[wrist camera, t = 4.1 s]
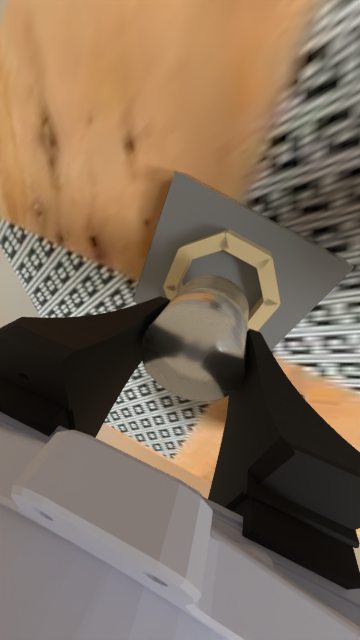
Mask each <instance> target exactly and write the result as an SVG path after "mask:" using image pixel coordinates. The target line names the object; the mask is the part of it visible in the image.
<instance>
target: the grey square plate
mask: <svg viewBox="0 0 360 640" xmlns="http://www.w3.org/2000/svg"><path fill="white" fill-rule="evenodd" d="M353 268H354V266H352V265H351V264H350V263H348V262H347V261H346V260H344V259H343V258H342V257H340V256H338V255H336V254H334V253H332V252H330V251H329V250H327V249H325V248H323V247H321V246H319V245H317V244H316V243H314V242H312V241H310V240H308V239H306V238H304V237H303V236H301V235H299V234H297V233H295V232H293V231H291V230H290V229H288V228H286V227H284V226H282V225H280V224H278V223H277V222H275V221H273V220H271V219H269V218H267V217H265V216H264V215H262V214H260V213H258V212H256V211H254V210H252V209H251V208H249V207H247V206H245V205H243V204H241V203H239V202H238V201H236V200H234V199H232V198H230V197H228V196H226V195H225V194H223V193H221V192H219V191H217V190H215V189H213V188H212V187H210V186H208V185H206V184H204V183H202V182H200V181H199V180H197V179H195V178H193V177H191V176H189V175H187V174H185V173H181V172H178V171H175V173H174V176H173V179H172V182H171V185H170V188H169V191H168V194H167V198H166V201H165V204H164V207H163V210H162V213H161V216H160V219H159V222H158V225H157V228H156V231H155V234H154V237H153V240H152V243H151V247H150V250H149V253H148V256H147V259H146V262H145V265H144V268H143V271H142V274H141V277H140V280H139V283H138V286H137V289H136V292H135V296H134V299H133V301H134V302H135V303H137V304H140V303H142V302H145V301H148V300H151V299H153V298H156V297H159V296H162V297H164V298H167V299H170V302H171V300H172V299H173V298H174V297H175V296H176V295H177V293H178V292H179V291H180V290H181V289H182V288H183V286H184V285H185V284H186V283H188V282H189V281H190V280H192V279H194V278H196V277H199V276H203V275H217V276H221V277H224V278H227V279H229V280H231V281H232V282H234V283H235V284H236V285H237V286H238V287H239V288H240V289H241V290H242V291H243V293H244V294H245V297H246V299H247V302H248V307H249V314H248V328H247V331H248V330H249V328H250V329H253V330H255V331H258V332H261V334H262V336H263V337H264V339H265V341H266V343H267V345H268V347H269V349H270V351H271V350H272V349H273V348H274V347H275V346H276V345H277V344H278V343H279V342H280V341H281V340H282V339H283V338H284V337H285V336H286V335H287V334H288V333H289V332H290V331H291V330H292V329H293V328H294V327H295V326H296V325H297V324H298V323H299V322H300V321H301V320H302V319H303V318H304V317H305V316H306V315H307V314H308V313H309V312H310V311H311V310H312V309H313V308H314V307H315V306H316V305H317V304H318V303H319V302H320V301H321V300H322V299H323V298H324V297H325V296H326V295H327V294H328V293H329V292H330V291H331V290H332V289H333V288H334V287H335V286H336V285H337V284H338V283H339V282H340V281H341V280H342V279H343V278H344V277H345V276H346V275H347V274H348V273H349V272H350V271H351V270H352V269H353Z"/></svg>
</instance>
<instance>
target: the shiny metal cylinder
mask: <svg viewBox="0 0 360 640" xmlns="http://www.w3.org/2000/svg"><path fill="white" fill-rule="evenodd" d="M248 314H249V307H248V302H247V299H246V297H245V294H244V293H243V291H242V290H241V289H240V288H239V287H238V286H237V285H236V284H235V283H234V282H232V281H231V280H229V279H227V278H224V277H221V276H217V275H203V276H199V277H196V278H194V279H192V280H190V281H189V282H188V283H186V284H185V285H184V286H183V288H182V289H181V290H180V291H179V292H178V293H177V295H176V296H175V297H174V298H173V299H172V300H171V302H170V303H169V304H168V305H167V306H166V307H165V309H164V310H163V311H162V312H161V313H160V314H159V316H158V317H157V318H156V319H155V320H154V321H153V323H152V324H151V325H150V326H149V327H148V329H147V330H146V331H145V333H144V335H143V337H142V340H141V344H140V352H141V358H142V361H143V363H144V366H145V368H146V369H147V371H148V372H149V374H150V375H151V376H152V378H153V379H154V380H155V381H156V382H157V383H158V384H159V385H161V386H162V387H163V388H165V389H166V390H168V391H169V392H171V393H173V394H175V395H177V396H180V397H183V398H186V399H190V400H195V401H214V400H218V399H222V398H224V397H226V396H228V395H230V394H231V393H233V392H234V391H235V390H236V389H237V388H238V387H239V385H240V383H241V382H242V379H243V376H244V371H245V357H246V342H247V328H248Z"/></svg>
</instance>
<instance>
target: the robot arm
mask: <svg viewBox="0 0 360 640" xmlns="http://www.w3.org/2000/svg"><path fill="white" fill-rule="evenodd" d="M169 303H170V299H167V298H164V297H162V296H159V297H156V298H153V299H151V300H148V301H145V302H142V303H140V304H137V305H134V306H130V307H127V308H124V309H120V310H117V311H112V312H107V313H102V314H96V315H88V316H80V317H63V318H37V317H21V318H19V319H17V320H15V321H13V322H11V323H9V324H7V325H6V326H3V327H2V328H0V640H360V572H359V568H358V564H357V561H356V557H355V553H354V549H353V547H354V548H358V547H359V541H358V537H357V534H356V529H359V528H360V452H359V451H357V450H356V449H355V448H354V447H353V446H352V445H350V444H349V443H348V442H347V441H346V440H345V439H344V438H342V437H341V436H340V435H339V434H338V433H337V432H336V431H335V430H334V429H333V428H332V427H331V426H330V425H329V424H328V423H327V422H326V421H325V420H324V419H323V418H322V417H321V416H320V415H319V414H318V413H317V412H316V411H315V410H314V409H313V408H312V407H311V406H310V405H309V404H308V402H307V401H306V400H305V399H304V398H303V397H302V396H301V394H300V393H299V392H298V391H297V389H296V388H295V387H294V386H293V384H292V383H291V382H290V380H289V379H288V378H287V376H286V375H285V373H284V372H283V370H282V369H281V367H280V366H279V364H278V363H277V361H276V359H275V358H274V356H273V354H272V352H271V351H270V349H269V347H268V345H267V343H266V341H265V339H264V337H263V336H262V334H261V332H258V331H255V330H253V329H250V328H249V330H248V331H247V342H246V357H245V371H244V376H243V379H242V382H241V383H240V385H239V387H238V388H237V389H236V390H235V391H234V392H233V393H231V394H230V395H229V402H228V411H227V418H226V423H225V428H224V433H223V437H222V442H221V447H220V451H219V456H218V460H217V464H216V468H215V473H214V477H213V481H212V485H211V489H210V494H209V497H208V499H206V498H204V497H203V496H202V495H201V494H200V493H199V492H198V491H197V490H195V489H194V488H192V487H190V486H189V485H187V484H186V483H184V482H183V481H181V480H179V479H177V478H175V477H173V476H171V475H169V474H167V473H165V472H163V471H161V470H159V469H157V468H155V467H153V466H151V465H149V464H147V463H145V462H143V461H141V460H139V459H137V458H134V457H133V456H131V455H129V454H126V453H125V452H123V451H121V450H119V449H117V448H114V447H113V446H111V445H108V444H107V443H104V442H102V441H100V440H98V439H96V438H95V437H96V436H97V434H98V432H99V430H100V428H101V426H102V424H103V423H104V421H105V419H106V417H107V416H108V414H109V412H110V410H111V408H112V407H113V405H114V403H115V402H116V400H117V398H118V396H119V395H120V393H121V391H122V390H123V388H124V386H125V385H126V383H127V381H128V380H129V378H130V377H131V375H132V374H133V372H134V371H135V369H136V368H137V367H138V365H139V364H140V363H141V362H142V358H141V352H140V344H141V340H142V337H143V335H144V333H145V331H146V330H147V329H148V327H149V326H150V325H151V324H152V323H153V321H154V320H155V319H156V318H157V317H158V316H159V314H160V313H161V312H162V311H163V310H164V309H165V307H166V306H167V305H168V304H169Z"/></svg>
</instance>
